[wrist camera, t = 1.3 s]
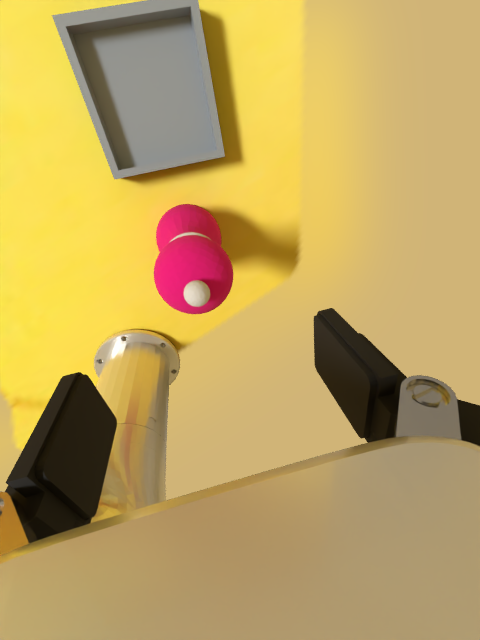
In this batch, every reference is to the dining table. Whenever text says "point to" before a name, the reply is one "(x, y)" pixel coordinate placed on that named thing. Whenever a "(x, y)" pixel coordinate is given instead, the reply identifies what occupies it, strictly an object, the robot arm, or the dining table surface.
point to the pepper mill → (191, 261)
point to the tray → (145, 83)
